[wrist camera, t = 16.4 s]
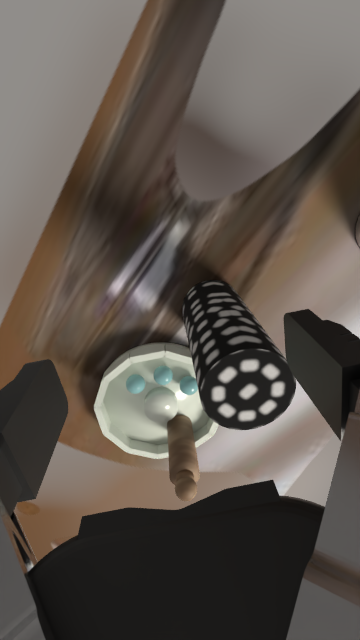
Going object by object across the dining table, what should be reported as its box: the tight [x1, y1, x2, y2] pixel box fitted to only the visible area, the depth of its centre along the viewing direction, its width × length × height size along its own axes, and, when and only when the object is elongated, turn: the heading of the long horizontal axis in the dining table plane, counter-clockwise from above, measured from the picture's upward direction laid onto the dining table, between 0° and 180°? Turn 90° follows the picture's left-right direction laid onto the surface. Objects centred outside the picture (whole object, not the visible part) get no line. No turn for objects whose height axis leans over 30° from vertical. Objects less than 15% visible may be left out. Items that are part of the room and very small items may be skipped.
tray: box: [94, 342, 219, 459], centre depth 50 cm, size 19×19×4 cm
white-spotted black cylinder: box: [182, 280, 296, 430], centre depth 37 cm, size 8×8×20 cm
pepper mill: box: [167, 415, 200, 501], centre depth 46 cm, size 4×4×13 cm
